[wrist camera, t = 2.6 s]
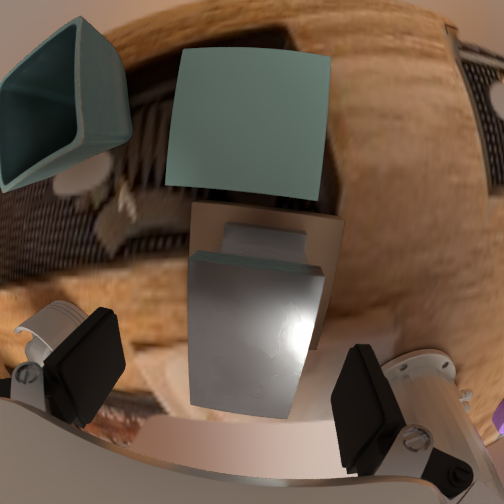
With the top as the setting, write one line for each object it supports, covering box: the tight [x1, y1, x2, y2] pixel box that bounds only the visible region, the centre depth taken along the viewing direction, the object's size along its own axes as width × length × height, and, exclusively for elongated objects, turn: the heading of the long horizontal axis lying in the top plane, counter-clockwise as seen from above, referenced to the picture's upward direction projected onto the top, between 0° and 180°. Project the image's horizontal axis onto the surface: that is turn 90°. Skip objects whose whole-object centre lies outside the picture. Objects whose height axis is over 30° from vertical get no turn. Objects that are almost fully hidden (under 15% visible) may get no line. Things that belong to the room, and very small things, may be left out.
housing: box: [188, 221, 325, 419], centre depth 15 cm, size 8×5×8 cm, turn 174°
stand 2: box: [189, 199, 345, 350], centre depth 19 cm, size 10×10×2 cm
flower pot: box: [0, 16, 133, 193], centre depth 14 cm, size 9×9×9 cm
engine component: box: [14, 300, 88, 367], centre depth 15 cm, size 11×20×10 cm
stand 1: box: [165, 47, 331, 201], centre depth 16 cm, size 10×10×2 cm
